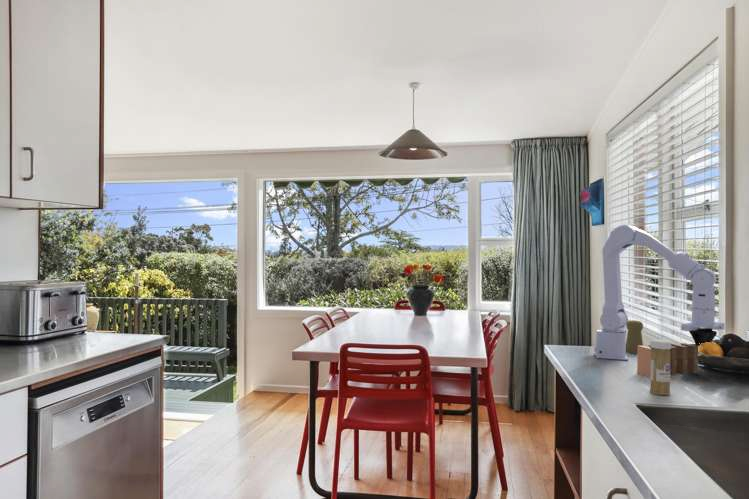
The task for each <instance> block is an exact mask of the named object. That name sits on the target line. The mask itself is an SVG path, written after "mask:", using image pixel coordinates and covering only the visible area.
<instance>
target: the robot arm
mask: <svg viewBox="0 0 749 499" xmlns="http://www.w3.org/2000/svg"><path fill="white" fill-rule="evenodd" d="M633 245H636V246H637V245H638V246H642V247H646V248H648V249H649V250H651V251H653V252H654V253H656V254H657V255H659V256H661V257H662V258H663V259H665V260H667V263H668V267H669V268H671V269H672V270H673V271H675V272H676V273H678V274H679V275H681V276H682V277H684V278H685V279H686V280H690V283H691V285H692V296H691V298H692V299H691V300H692V301H691V305H692V306H691V322H686V323H681V325H680V331H684V332H689V334H690V336H691V338H692V339H693V342H694V345H696V346H699V345H700V344H701V343H705V342H711V343H713V340H714V339H715V337H716V336H717V335H718V332H717V330H725V325H726V324H725V323H724V322H719V321H715V320H716V318H715V314H716V313H715V311H716V310H715V309H716V294H715V290H716V289H715V284H716V282H717V275H716V273H715V272H714V271H713V270H712V269H711V268H707V267H706V265H705V264H704V263H700V262H697V261H696V260H695V259H693V258H692V257H691V254H690V253H688V252H683V251H678V252H675V251H674V250H672V249H671V248H670V247H668V246H667V245H665V244H664V243H663V242H661V241H660V240H658V239H657V238H656V237H655V236H653V235H651V234H650V233H648V232H646V231H645V230H643V229H639V228H638V227H637V226H635V225H627V224H620V225H617V226H616V227H615V228H614V229H613V230H612V231H610V233H609V236H608V238H607V240H606V242H605V243H604V245H603V247H602V263H603V264H602V266H603V267H602V268H603V288H604V289H603V290H604V303H603V305H602V314H601V315H600V318H599V321H600V322H599V323H600V325H601V327H602V328H601V329H595V332H594V350H593V351H594V354H595V357H596V358H598V359H606V360H619V361H628V360H629V357H628V356H627V354H626V353H627V352H626V341H627V328H625V326H627V322H628V321H629V316H628V314H627V313H626V311H625V305H624V303H623V300H622V299H623V297H622V294H623V293H622V278H621V277H622V275H621V259H620V255H621V254H622V253H623V252H624V251H625V250H626V249H627V248H629V247H631V246H633ZM699 343H700V344H699Z"/></svg>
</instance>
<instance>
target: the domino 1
mask: <svg viewBox="0 0 749 499" xmlns="http://www.w3.org/2000/svg"><path fill="white" fill-rule="evenodd" d="M636 357H637V362H636V363H637V365H636V367H637V369H636V371H637V372H636V373H637V374H639V375H643V376H646V377H649V378H650V365H651V348H650V347H649V346H645V345H643V346H642V345H641V346H638V354H637V356H636Z"/></svg>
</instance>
